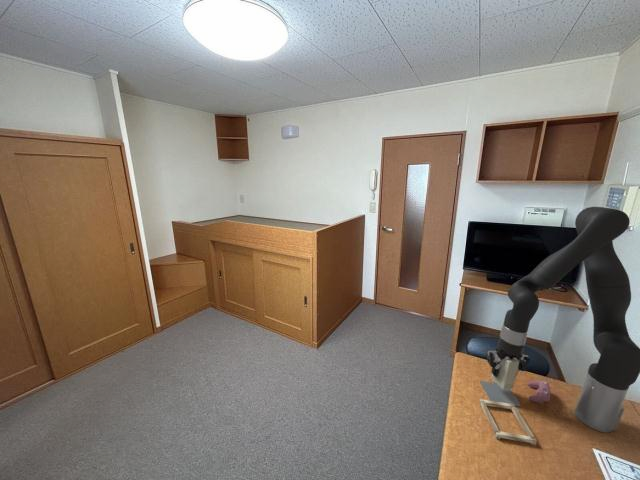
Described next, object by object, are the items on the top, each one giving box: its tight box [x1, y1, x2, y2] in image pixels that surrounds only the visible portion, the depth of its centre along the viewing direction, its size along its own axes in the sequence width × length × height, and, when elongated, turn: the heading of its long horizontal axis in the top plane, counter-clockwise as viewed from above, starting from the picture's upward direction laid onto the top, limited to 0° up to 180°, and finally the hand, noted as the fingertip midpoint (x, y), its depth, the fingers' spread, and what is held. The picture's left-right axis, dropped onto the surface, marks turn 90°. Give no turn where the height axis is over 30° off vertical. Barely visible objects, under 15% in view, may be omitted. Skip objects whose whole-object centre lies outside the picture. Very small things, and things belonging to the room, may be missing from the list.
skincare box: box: [490, 354, 520, 390], centre depth 98 cm, size 6×4×12 cm
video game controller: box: [527, 379, 551, 403], centre depth 99 cm, size 10×5×7 cm, turn 143°
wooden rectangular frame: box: [478, 398, 538, 446], centre depth 88 cm, size 11×13×2 cm
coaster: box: [479, 380, 522, 408], centre depth 100 cm, size 10×10×1 cm
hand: (502, 376), depth 98 cm, fingers closed on skincare box, 5 cm apart
